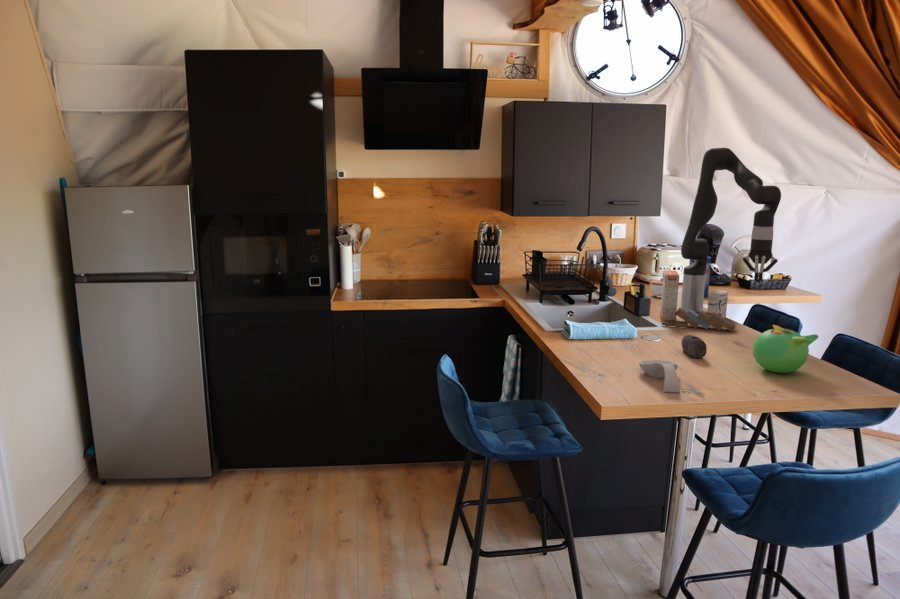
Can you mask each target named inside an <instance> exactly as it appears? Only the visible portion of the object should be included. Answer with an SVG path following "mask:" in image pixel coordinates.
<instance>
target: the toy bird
mask: <svg viewBox="0 0 900 599" xmlns="http://www.w3.org/2000/svg"><path fill="white" fill-rule="evenodd" d="M772 327H773V328H771V329H767V330H765V331H763V332H762V333H761V334H760V335H758V337H757V338H756V340H755V341H754V344H753V348H752V354H753V357H754V360H755V361H756V362H757V364H758V365H760V366H761V367H762V368H764V369H765V370H768V371H770V372H773V373H778V374H788V373H792V372H796V371H797V370H800V368H802V367H803V366H804V364H805V363H806V362H807V360H808V358H809V352H810V350H809V349H810V348H809V346H810V345H811V344H812V343H814V342H816V340H817V339H819V334H816V333H815V334H809V335H801V334H800V333H798V332H797V331H795V330H792V329H790V328H783V327H781V326H779V325H777V324H772Z"/></svg>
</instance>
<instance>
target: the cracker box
mask: <svg viewBox="0 0 900 599" xmlns="http://www.w3.org/2000/svg"><path fill="white" fill-rule="evenodd" d="M662 278H663V283H662V297H661V299H660V312H659V317H660V321H661V322H662V320H674V321H677V315H676V314H675V313H676V312H677V310H678V308H677V307H678V298H679V285H680V284H679V283H680V274H679V273H678V271H677V270H666V269H665V270H663V272H662Z"/></svg>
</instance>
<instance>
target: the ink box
mask: <svg viewBox="0 0 900 599" xmlns="http://www.w3.org/2000/svg"><path fill="white" fill-rule="evenodd" d="M728 297H729V291H725V290H719V289H715V290H713V291H708V297H707V298H708V299H707V308H706V309H707V312H706V313H707V314H708V315H710V316H711V315H712V313H713V312H715V313H717V314H718V315H720V316H722V317H725V319H727V318H726V317H727V308H728V307H727V306H728Z"/></svg>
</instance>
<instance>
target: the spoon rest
mask: <svg viewBox="0 0 900 599" xmlns="http://www.w3.org/2000/svg"><path fill="white" fill-rule="evenodd" d="M638 365H639V367H640V369H641V370H642V371H643V372H644V373H645V374H647V375H648V376H649V377H651V378H658V379H664V380H663V388H662V392H663V393H680V391H681V390H680V381H679V378H678V373H677V371H676V370H677V369H678V367H679V365H678V363H675V362H673V361H670V360H669V361H668V360H663V359H660V360H659V359H647V360H641V361H639V362H638Z"/></svg>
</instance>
